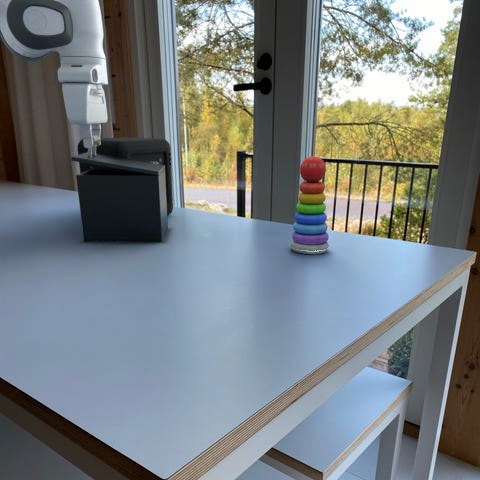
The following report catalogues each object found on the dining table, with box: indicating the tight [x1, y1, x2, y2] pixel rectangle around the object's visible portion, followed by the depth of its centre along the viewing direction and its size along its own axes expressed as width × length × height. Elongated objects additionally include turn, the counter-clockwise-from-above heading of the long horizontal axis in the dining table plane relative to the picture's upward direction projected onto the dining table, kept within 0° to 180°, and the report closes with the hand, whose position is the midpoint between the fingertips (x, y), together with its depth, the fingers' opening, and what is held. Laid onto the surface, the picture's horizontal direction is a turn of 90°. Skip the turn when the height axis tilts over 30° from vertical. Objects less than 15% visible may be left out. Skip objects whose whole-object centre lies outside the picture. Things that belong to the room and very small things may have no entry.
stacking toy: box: [290, 155, 330, 255], centre depth 96 cm, size 8×8×19 cm
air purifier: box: [76, 136, 174, 217], centre depth 124 cm, size 20×15×20 cm
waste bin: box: [75, 168, 169, 243], centre depth 108 cm, size 17×14×14 cm
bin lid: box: [70, 134, 165, 175], centre depth 103 cm, size 18×14×5 cm
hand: (92, 146), depth 103 cm, fingers closed on bin lid, 5 cm apart
